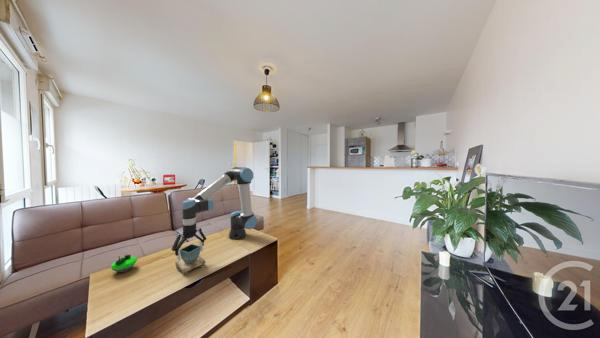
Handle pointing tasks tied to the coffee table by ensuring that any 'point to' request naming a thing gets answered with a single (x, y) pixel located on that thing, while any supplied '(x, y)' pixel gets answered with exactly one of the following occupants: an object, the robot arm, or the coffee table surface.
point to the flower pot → (190, 253)
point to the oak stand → (189, 265)
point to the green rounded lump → (124, 263)
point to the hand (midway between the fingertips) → (190, 255)
